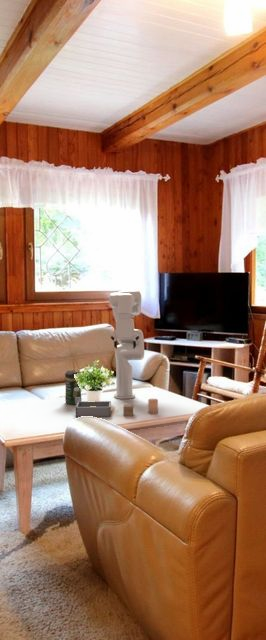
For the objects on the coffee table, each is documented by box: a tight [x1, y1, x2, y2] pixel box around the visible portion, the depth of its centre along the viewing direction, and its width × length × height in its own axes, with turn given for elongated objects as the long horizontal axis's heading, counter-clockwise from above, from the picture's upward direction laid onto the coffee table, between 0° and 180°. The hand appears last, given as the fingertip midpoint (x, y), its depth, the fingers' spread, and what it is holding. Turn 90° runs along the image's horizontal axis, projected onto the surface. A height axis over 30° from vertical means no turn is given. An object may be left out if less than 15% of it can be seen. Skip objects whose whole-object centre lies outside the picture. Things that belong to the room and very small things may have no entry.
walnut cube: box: [122, 403, 134, 417], centre depth 276 cm, size 5×5×5 cm
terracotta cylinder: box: [147, 398, 159, 415], centre depth 280 cm, size 5×5×7 cm
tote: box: [75, 400, 112, 418], centre depth 278 cm, size 14×18×5 cm
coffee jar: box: [64, 369, 82, 406], centre depth 302 cm, size 10×8×19 cm
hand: (125, 348), depth 288 cm, fingers open, 9 cm apart
